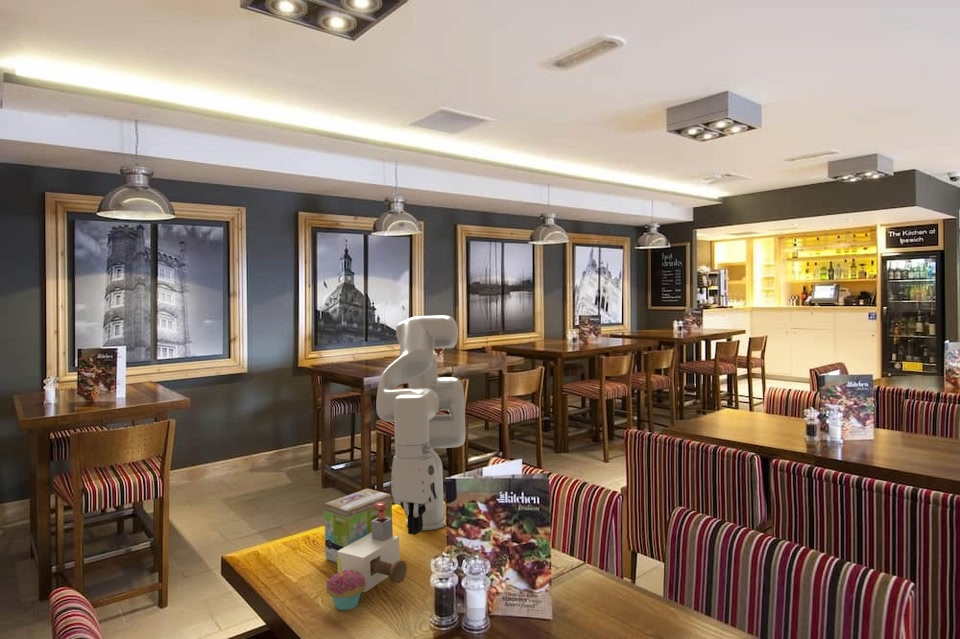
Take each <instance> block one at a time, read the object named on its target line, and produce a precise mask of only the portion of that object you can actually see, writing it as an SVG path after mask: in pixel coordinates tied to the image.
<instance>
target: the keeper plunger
mask: <svg viewBox="0 0 960 639" xmlns="http://www.w3.org/2000/svg"><path fill="white" fill-rule="evenodd" d="M374 506H375V510H378V521H379V522H384V521H385V510H386V509H387V508H388V503H387V502H378V503H375V504H374Z"/></svg>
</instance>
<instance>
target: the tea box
mask: <svg viewBox="0 0 960 639" xmlns="http://www.w3.org/2000/svg"><path fill="white" fill-rule="evenodd" d="M392 498H393V496H392V494H390V493H386V492H383V491H378V490H375V489H371V488H368V487H367V488H365V489H362V490H359V491H357V492H353V493H350V494H348V495H344V496H342V497H339V498H337V499H334V500H331V501H328V502H324V543H325V544H324V548H325V549H324V550H325V551H324V553H325V554H324V555H325V559H327V560H328V561H331V562H333V563H336V564H338V562H337V551H338V550H340V549H342V548H344V547H346V546H348V545H349V544H351V543H353V542H355V541H357V540H359V539H360V538H362V537H364V536H366V535H368V534H369V533H371V532H372V529H371V521H372V520H374V519H376V518H378V510H375V506H374V504H375V503H378V502H387V503H388V508H387V509H386V510H385V517H387V518H392V519H393V505H392V504H393V501H392Z"/></svg>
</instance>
